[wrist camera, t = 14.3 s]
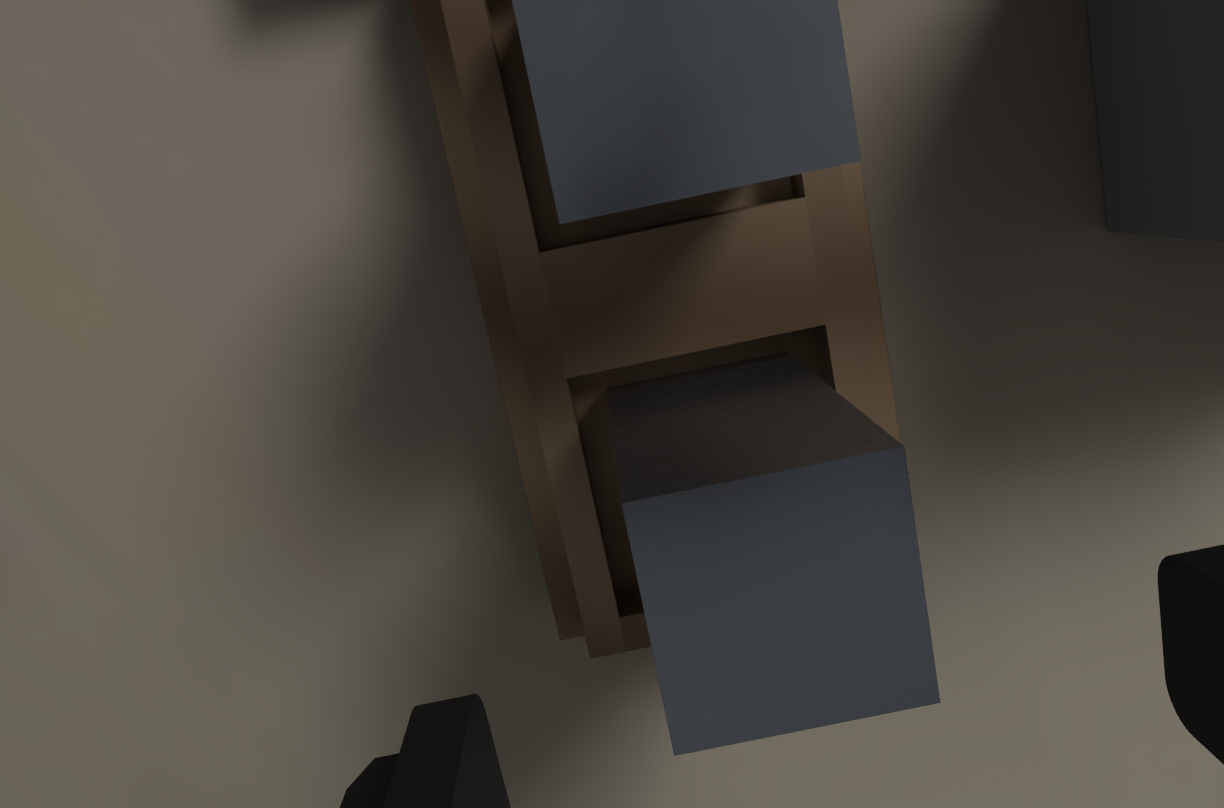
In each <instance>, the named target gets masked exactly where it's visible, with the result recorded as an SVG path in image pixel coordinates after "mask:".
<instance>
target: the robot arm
mask: <svg viewBox="0 0 1224 808" xmlns="http://www.w3.org/2000/svg"><path fill="white" fill-rule="evenodd" d="M1158 590H1159V603H1160V616H1161V629H1162V642H1163V655H1164V668H1165V679H1166V685H1167V690H1168V693H1169V696H1170V699H1171V702H1172V704H1173V707H1174V709H1175V711H1176V713H1177V715H1178V717H1179V718H1180V720H1181V722H1182V723H1183V725H1184V726H1185V727H1186V729H1187V730H1188V731H1189V732H1190V733H1191V734H1192V735H1193V736H1194V737H1195V738H1196V739H1197V740H1198V741H1199V742H1200V743H1201V744H1202V745H1203V746H1204V747H1205V748H1206V749H1208V750H1209V751H1210V752H1211V753H1212V754H1213V755H1214V756H1215V757H1216V758H1217V759H1218V760H1219V761H1221V762H1222V763H1223V764H1224V545H1219V546H1214V547H1209V548H1204V549H1199V550H1194V551H1189V552H1184V553H1179V554H1175V555H1170V556H1167V557H1165V558H1164V559H1163V560H1162V561H1161V563H1160V565H1159V569H1158ZM340 808H510V803H509V800H508V796H507V792H506V788H505V784H504V780H503V776H502V773H501V769H500V765H499V761H498V757H497V753H496V750H495V746H494V742H493V738H492V734H491V730H490V727H489V723H488V719H487V715H486V712H485V708H484V705H483V703H482V700H481V698H480V697H479V695H478V694H472V695H467V696H462V697H457V698H453V699H448V700H443V701H438V702H433V703H428V704H423V705H418V706H415V707H414V708H413V710H412V713H411V716H410V719H409V723H408V726H407V729H406V733H405V736H404V739H403V743H402V746H401V749H400V752H399V753H398V754H393V755H388V756H383V757H378V758H374V760H373V761H372V762H371V763H370V764H369V765H368V766H367V767H366V768H365V770H364V771H363V772H362V773H361V774H360V775H359V776H358V777H357V779H356V780H355V781H354V782H353V783H352V784H351V785H350V786H349V787H348V789H347V790H346V793H345V795H344V798H343V801H342V803H341V806H340Z"/></svg>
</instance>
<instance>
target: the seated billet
mask: <svg viewBox="0 0 1224 808" xmlns="http://www.w3.org/2000/svg"><path fill="white" fill-rule="evenodd" d="M512 3H513V8H514V12H515V17H516V22H517V27H518V31H519V36H520V41H521V45H522V50H523V55H524V59H525V64H526V69H527V73H528V78H529V83H530V88H531V92H532V97H533V102H534V106H535V111H536V116H537V120H538V125H539V130H540V134H541V139H542V144H543V148H544V153H545V158H546V163H547V167H548V172H549V177H550V181H551V186H552V191H553V195H554V200H555V205H556V209H557V214H558V219H559V224H564V223H569V222H573V221H578V220H583V219H588V218H592V217H597V216H602V215H607V214H612V213H616V212H621V211H626V210H631V209H635V208H640V207H645V206H650V205H654V204H659V203H664V202H669V201H674V200H678V199H683V198H688V197H693V196H697V195H702V194H707V193H712V192H717V191H721V190H726V189H731V188H736V187H740V186H745V185H750V184H755V183H759V182H764V181H769V180H774V179H779V178H783V177H788V176H793V175H798V174H802V173H807V172H812V171H817V170H822V169H826V168H831V167H836V166H841V165H845V164H850V163H855V162H860V161H861V160H860V153H859V146H858V139H857V132H856V126H855V119H854V112H853V105H852V98H851V91H850V84H849V77H848V70H847V63H846V56H845V49H844V42H843V36H842V29H841V22H840V15H839V8H838V1H837V0H512Z"/></svg>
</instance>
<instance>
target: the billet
mask: <svg viewBox="0 0 1224 808" xmlns="http://www.w3.org/2000/svg"><path fill="white" fill-rule="evenodd" d="M606 391H607V399H608V406H609V414H610V421H611V429H612V436H613V444H614V451H615V459H616V466H617V473H618V481H619V488H620V496H621V503H622V508H623V513H624V518H625V523H626V527H627V532H628V537H629V542H630V546H631V551H632V556H633V561H634V566H635V570H636V575H637V580H638V585H639V589H640V594H641V599H642V604H643V609H644V613H645V618H646V623H647V628H648V632H649V637H650V642H651V647H652V652H653V656H654V661H655V666H656V671H657V675H658V680H659V685H660V690H661V695H662V699H663V704H664V709H665V714H666V718H667V723H668V728H669V733H670V738H671V742H672V747H673V752H674V756H676V755H681V754H686V753H691V752H696V751H701V750H706V749H711V748H716V747H721V746H726V745H731V744H736V743H741V742H746V741H751V740H756V739H761V738H766V737H771V736H776V735H781V734H786V733H791V732H796V731H801V730H806V729H811V728H816V727H821V726H826V725H831V724H836V723H841V722H846V721H851V720H856V719H861V718H866V717H871V716H876V715H881V714H886V713H891V712H896V711H901V710H906V709H911V708H916V707H921V706H926V705H931V704H936V703H940V698H939V690H938V683H937V676H936V669H935V662H934V655H933V648H932V641H931V634H930V627H929V619H928V612H927V605H926V598H925V591H924V584H923V577H922V570H921V563H920V555H919V548H918V541H917V534H916V527H915V520H914V513H913V506H912V499H911V491H910V484H909V477H908V470H907V463H906V456H905V449H904V446H903V445H902V444H901V443H900V442H898V441H897V440H896V439H895V438H893V437H892V436H891V435H890V434H888V433H887V432H886V431H885V430H884V429H882V428H881V427H880V426H879V425H877V424H876V423H875V422H874V421H872V420H871V419H870V418H869V417H867V416H866V415H865V414H864V413H862V412H861V411H860V410H859V409H857V408H856V407H855V406H854V405H853V404H851V403H850V402H849V401H848V400H846V399H845V398H844V397H843V396H841V395H840V394H839V393H838V392H836V391H835V390H834V389H833V388H831V387H830V386H829V385H828V384H826V383H825V382H824V381H823V380H821V379H820V378H819V377H818V376H817V375H815V374H814V373H813V372H812V371H810V370H809V369H808V368H807V367H805V366H804V365H803V364H802V363H800V362H799V361H798V360H797V359H795V358H794V357H793V356H792V355H790V354H789V353H788V352H787V351H785V352H780V353H775V354H770V355H765V356H760V357H755V358H750V359H746V360H741V361H736V362H731V363H726V364H721V365H716V366H711V367H706V368H701V369H697V370H692V371H687V372H682V373H677V374H672V375H667V376H662V377H657V378H653V379H648V380H643V381H638V382H633V383H628V384H623V385H618V386H613V387H608V388H606Z"/></svg>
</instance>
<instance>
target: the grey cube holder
mask: <svg viewBox="0 0 1224 808" xmlns="http://www.w3.org/2000/svg"><path fill="white" fill-rule="evenodd" d="M1087 10H1088V21H1089V32H1090V43H1091V54H1092V65H1093V75H1094V86H1095V97H1096V108H1097V119H1098V130H1099V141H1100V152H1101V163H1102V173H1103V184H1104V195H1105V206H1106V217H1107V228H1108V231H1117V232H1128V233H1140V234H1151V235H1162V236H1173V237H1185V238H1196V239H1207V240H1219V241H1224V0H1087Z"/></svg>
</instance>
